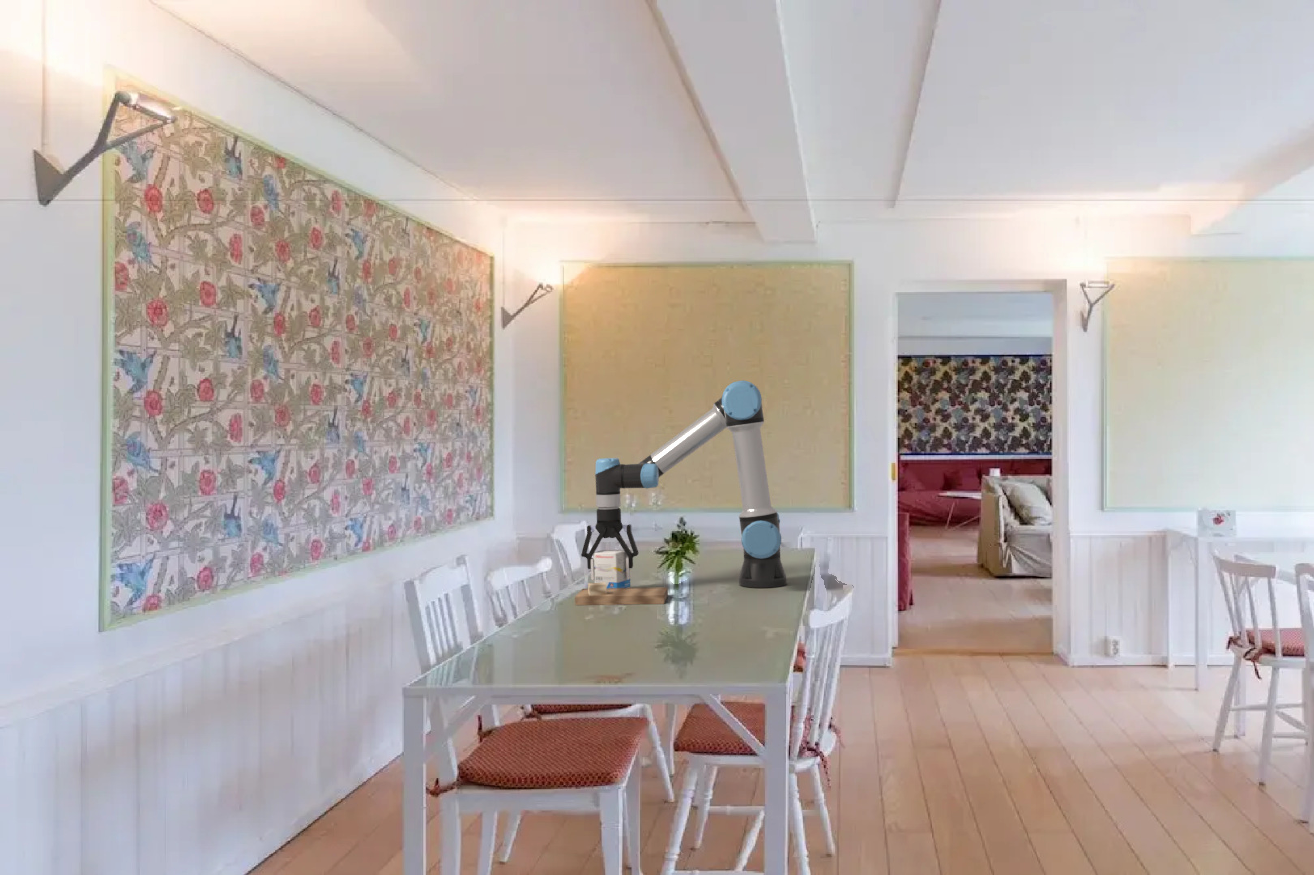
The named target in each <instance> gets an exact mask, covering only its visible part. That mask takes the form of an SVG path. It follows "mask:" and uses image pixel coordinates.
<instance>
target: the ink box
mask: <svg viewBox="0 0 1314 875" xmlns="http://www.w3.org/2000/svg"><path fill="white" fill-rule="evenodd" d="M627 557H628V556H627V554H626V553H625V551H624V549H603V550H597V551H595V552H594V553H593V556H592V558H593V562H594V580H593V581H594V582H593V583H602V582H605V583H606V588H631V578H630V579H629V580H627V577H626V558H627Z"/></svg>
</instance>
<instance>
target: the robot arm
mask: <svg viewBox="0 0 1314 875" xmlns="http://www.w3.org/2000/svg"><path fill="white" fill-rule="evenodd" d="M762 399H763V398H762V394H761V392H760V390H759V388H758V387H757V386H756V385H755V384H754V383H752V382H751V381H747V380H738V381H734V382H732V383H730V384H729V385H727V386H726V388H724V390H723V392H722V396H721V397H720V398H719V399H718V400H717V401H715V402H714V403H713V405H712V408H711V409H709V411H707V412H706V413H704V414H703V415H701V416H700V417H699V418H698V419H697V420H694V422H692V423H691V424H690V425H688V426H687V427H686V428H684V429H683V430H682V431H681V432H679V433H678V434H677V435H676V434H675V436H674V437H672V438H671V439H669V441H667V442H665V443H664V444H663V445H661V446H660V447H659V448H658V449H656V450H654V452H652V453H651V454H650V455H649V456H646V457H645V458H644V459H642V461H639V462H638V463H629V464H628V463H627V464H624V463H621V462H620V459H619V458H618V457H606V458H605V457H604V458H598V459H597V460H596V461H595V472H594V476H595V500H596V501H595V506H596V507H597V509H596V524H595V525H592V524H589V525H587V526H586V536H585V540H584V543H583V548H582V551H581V553H580V556H581V557H582V558H585V559H586V560H587V570H590V577H591V578H590V580H591V581H594V562H593V553H595V552H596V550H597V548H598V547H599V545H600V543H601V541H602V540H603V539H609V538H610V539H616V540H617V541H618V543H619V545H620V546H621V548H622V550H624V551H625V553H626V554H627V556H628V557H627V558H626V577H627V580H629V579H630V580H631V569H633V567H634V557H637V556H638V555H639V550H638V547H637V544H636V541H635V538H634V535H633V533H632V524H623V523H622V510H621V508H620V507H621V505H622V504H621V489H646V490H647V489H652V488H653V489H654V488H657V487H658V486H659V482H660V481H659V478H660V477H662V476H663V475H664V474H666V473H667V472H668V471H669V470H671V469H672V468H674V467H675V466H677V465H678V464H679V463H680V462H682V461H683V460H684V459H686V458H687V457H688V456H690V455H691V454H693V453H694V452H695V451H697V450H698V449H699V448H701V447H702V446H704V445H705V444H706V443H707V442H709V441H710V440H712V439H713V438H715V437H716V436H717V435H718V434H720V433H721V432H723V431H724V430H726V429H727V430H729V431H730V432H731V434H732V440H733V442H732V443H733V446H734V447H733V448H734V454H735V456H734V457H735V460H736V469H737V475H738V476H737V477H738V484H739V489H740V497H741V503H742V511H741V512H740V513H739V515H738V518H739V524H740V525H739V526H740V531H741V533H740V534H741V538H740V539H741V545H742V548H743V562H742V566H741V570H740V573H739V576H738V585H740V586H741V587H744V588H755V589H756V588H757V589H759V588H760V589H761V588H764V589H765V588H778V587H783V586H785V585H787V580H788V579H787V574H786V572H785V569H784V566H783V563H782V561H781V559H782V558H781V544H782V533H781V531H780V523H781V519H780V514H779V513H778V510H776V509H775V508H774V507H772V503H771V497H770V489H769V481H768V475H767V469H766V462H765V461H766V460H765V453H764V446H763V440H762V434H761V428H762V426H763V425H764V424H765V418H764V417H765V416H764V412H763V410H764V409H763V404H762ZM622 529H624V532H626V535H627V538H628V541H629V543H630V546H631V550H630V547H629V546H628V545H627V543H626V541H625V540H624V538H623V537H622V535H621V531H622ZM595 530H596V531H597V532H598V536H597V537H596V540H595V541H594V543H593V545H592V547H591V549H590V551H589V550H588V549H589V546H590V543H591V538H592V535H593V533H594V532H595ZM588 551H589V552H588Z"/></svg>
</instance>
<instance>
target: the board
mask: <svg viewBox="0 0 1314 875" xmlns="http://www.w3.org/2000/svg"><path fill="white" fill-rule="evenodd" d="M606 590H607V595H591V596H590V595H589V594H588V588H582V589H581V590H580V591H579V592H577V594H576V595H575V596H574V604H575V606H600V605H602V606H605V605H606V606H607V605H608V606H610V605H611V606H612V605H613V606H615V605H616V606H617V605H664V604H665V602H666V600H667V597H668V596H669V592H668V590H669V588H668V587H666V586H665V587H661V586H660V587H628V588H606Z"/></svg>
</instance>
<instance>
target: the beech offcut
mask: <svg viewBox="0 0 1314 875" xmlns="http://www.w3.org/2000/svg"><path fill="white" fill-rule="evenodd" d="M587 589H588V594H589V595H590V596H591V595H607V590H606V583H605V582H602V583H594V582H591V583H590V582H589V583H588V582H587Z"/></svg>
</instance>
